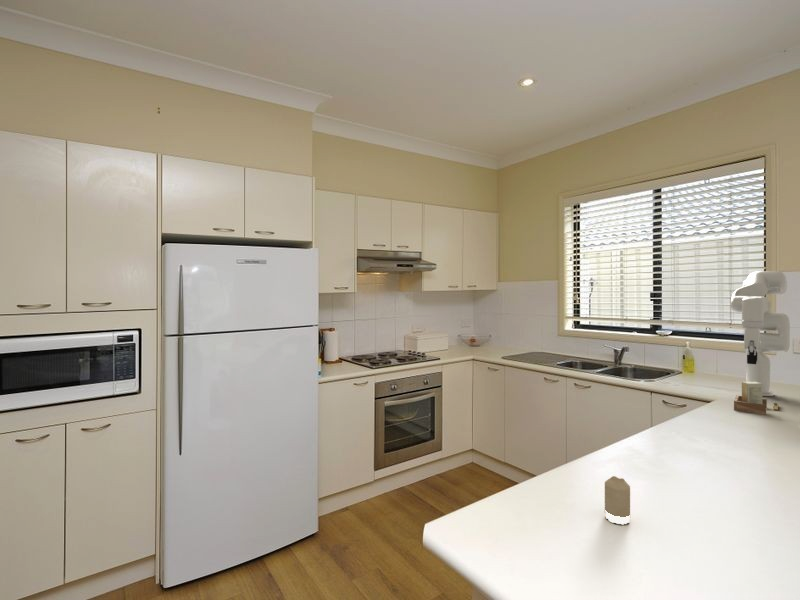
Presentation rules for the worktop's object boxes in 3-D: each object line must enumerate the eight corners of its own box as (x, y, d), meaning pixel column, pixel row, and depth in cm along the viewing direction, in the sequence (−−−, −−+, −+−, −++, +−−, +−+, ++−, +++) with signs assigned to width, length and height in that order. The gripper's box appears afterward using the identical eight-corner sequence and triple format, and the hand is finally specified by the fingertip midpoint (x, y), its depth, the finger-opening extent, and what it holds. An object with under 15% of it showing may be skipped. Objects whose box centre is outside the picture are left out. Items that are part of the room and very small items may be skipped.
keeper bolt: (773, 404, 197) (773, 399, 197) (777, 405, 196) (777, 399, 196) (773, 409, 190) (773, 403, 190) (777, 409, 189) (777, 404, 189)
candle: (600, 514, 105) (600, 474, 105) (621, 512, 106) (621, 473, 106) (613, 526, 100) (613, 484, 100) (635, 525, 100) (635, 483, 100)
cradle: (736, 403, 201) (736, 395, 201) (766, 407, 194) (766, 399, 194) (733, 409, 191) (733, 400, 191) (766, 414, 184) (766, 405, 184)
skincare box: (756, 407, 194) (756, 381, 193) (763, 410, 189) (763, 383, 189) (740, 407, 195) (741, 381, 194) (747, 410, 190) (747, 383, 190)
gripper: (743, 322, 200) (742, 358, 201) (740, 326, 187) (740, 364, 188) (764, 323, 195) (763, 360, 196) (762, 326, 182) (762, 366, 183)
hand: (752, 362), depth 192 cm, fingers open, 9 cm apart
